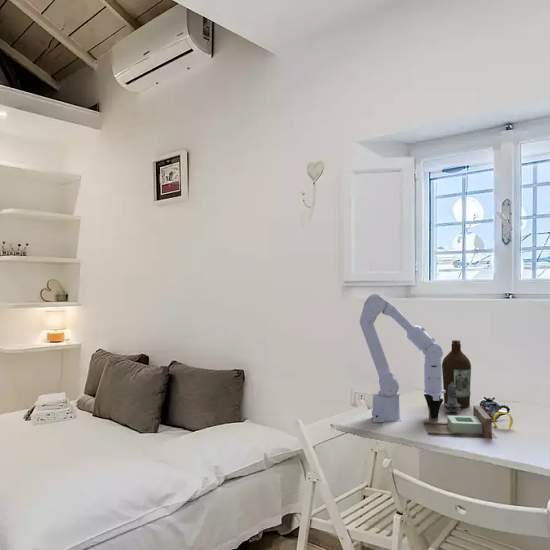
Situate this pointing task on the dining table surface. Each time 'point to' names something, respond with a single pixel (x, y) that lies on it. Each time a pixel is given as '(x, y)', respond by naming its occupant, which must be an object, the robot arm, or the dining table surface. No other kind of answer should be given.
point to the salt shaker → (452, 400)
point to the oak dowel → (431, 418)
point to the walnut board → (446, 432)
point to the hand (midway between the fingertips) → (433, 416)
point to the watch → (502, 413)
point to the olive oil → (457, 374)
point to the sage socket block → (464, 424)
